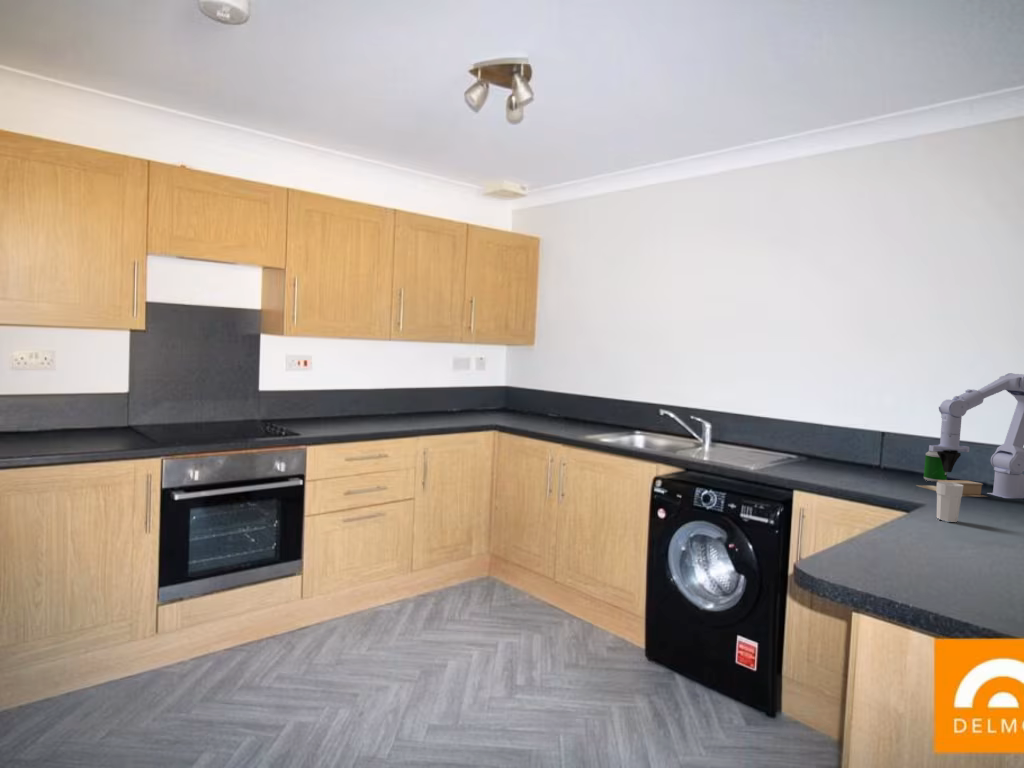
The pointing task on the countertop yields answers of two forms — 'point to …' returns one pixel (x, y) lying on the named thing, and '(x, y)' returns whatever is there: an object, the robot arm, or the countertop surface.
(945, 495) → the cup
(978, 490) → the parcel box
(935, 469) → the soda can
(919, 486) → the board
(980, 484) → the lid flap
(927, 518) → the countertop surface
